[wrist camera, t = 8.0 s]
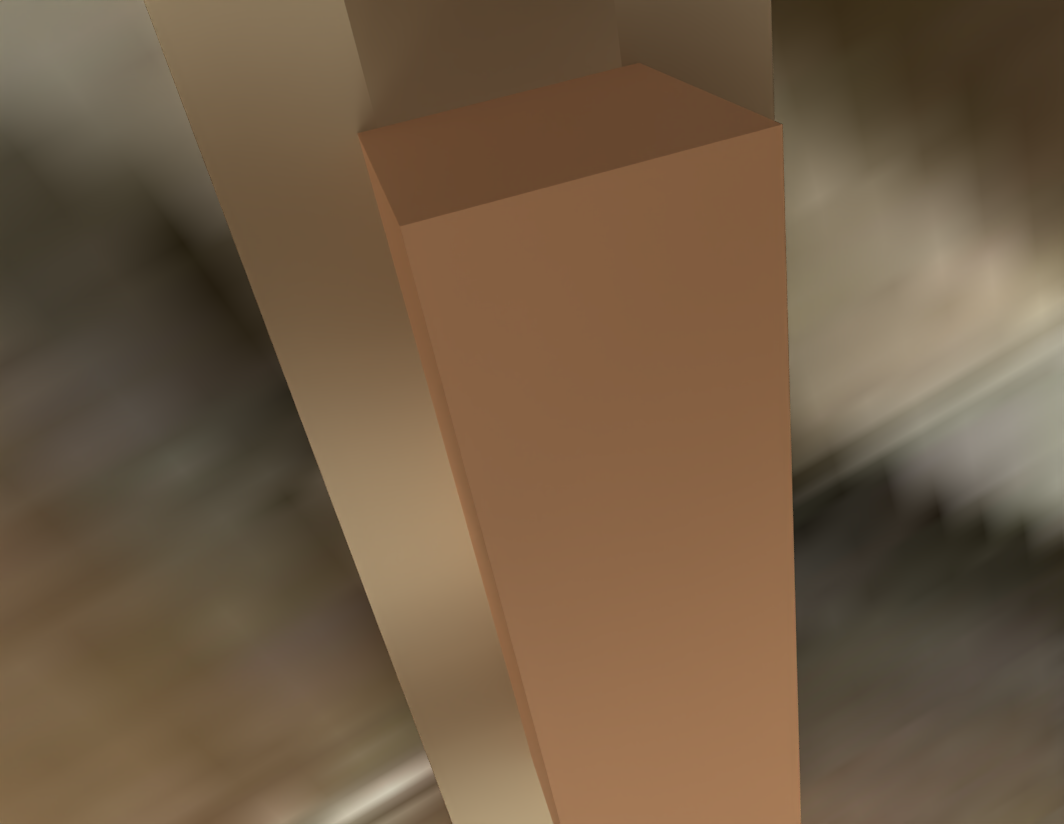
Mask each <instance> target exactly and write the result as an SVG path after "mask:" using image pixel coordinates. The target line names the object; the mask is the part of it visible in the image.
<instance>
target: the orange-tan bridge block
mask: <svg viewBox="0 0 1064 824" xmlns="http://www.w3.org/2000/svg"><path fill="white" fill-rule="evenodd" d="M357 134H358V138H359V141H360V145H361V148H362V152H363V155H364V159H365V163H366V166H367V170H368V173H369V177H370V180H371V184H372V188H373V191H374V195H375V198H376V202H377V206H378V209H379V213H380V216H381V220H382V223H383V227H384V231H385V234H386V238H387V241H388V245H389V248H390V252H391V256H392V259H393V263H394V266H395V270H396V274H397V277H398V281H399V284H400V288H401V291H402V295H403V299H404V302H405V306H406V309H407V313H408V316H409V320H410V324H411V327H412V331H413V334H414V338H415V342H416V345H417V349H418V352H419V356H420V359H421V363H422V367H423V370H424V374H425V377H426V381H427V384H428V388H429V392H430V395H431V399H432V402H433V406H434V410H435V413H436V417H437V420H438V424H439V427H440V431H441V435H442V438H443V442H444V445H445V449H446V452H447V456H448V460H449V463H450V467H451V470H452V474H453V477H454V481H455V485H456V488H457V492H458V495H459V499H460V503H461V506H462V510H463V513H464V517H465V520H466V524H467V528H468V531H469V535H470V538H471V542H472V545H473V549H474V553H475V556H476V560H477V563H478V567H479V571H480V574H481V578H482V581H483V585H484V588H485V592H486V596H487V599H488V603H489V606H490V610H491V613H492V617H493V621H494V624H495V628H496V631H497V635H498V639H499V642H500V646H501V649H502V653H503V656H504V660H505V664H506V667H507V671H508V674H509V678H510V681H511V685H512V689H513V692H514V696H515V699H516V703H517V707H518V710H519V714H520V717H521V721H522V724H523V728H524V732H525V735H526V739H527V742H528V746H529V749H530V753H531V757H532V760H533V763H534V766H535V769H536V772H537V775H538V779H539V782H540V785H541V788H542V791H543V794H544V797H545V800H546V803H547V806H548V809H549V812H550V815H551V818H552V821H553V824H801V803H800V765H799V727H798V689H797V651H796V613H795V575H794V537H793V499H792V462H791V424H790V386H789V348H788V310H787V272H786V234H785V196H784V158H783V124H780V123H778V122H776V121H773V120H771V119H769V118H766V117H764V116H762V115H759V114H757V113H755V112H753V111H750V110H748V109H746V108H743V107H741V106H739V105H736V104H734V103H732V102H729V101H727V100H725V99H722V98H720V97H718V96H715V95H713V94H711V93H708V92H706V91H704V90H701V89H699V88H697V87H694V86H692V85H690V84H687V83H685V82H683V81H680V80H678V79H676V78H674V77H671V76H669V75H667V74H664V73H662V72H660V71H657V70H655V69H653V68H650V67H648V66H646V65H643V64H641V63H636V64H632V65H628V66H624V67H620V68H616V69H612V70H608V71H604V72H600V73H596V74H592V75H588V76H584V77H580V78H576V79H572V80H568V81H564V82H560V83H556V84H552V85H548V86H544V87H540V88H536V89H532V90H528V91H524V92H520V93H516V94H512V95H508V96H504V97H500V98H496V99H492V100H488V101H484V102H480V103H476V104H472V105H468V106H464V107H460V108H456V109H452V110H448V111H444V112H440V113H436V114H432V115H428V116H424V117H420V118H416V119H412V120H408V121H404V122H400V123H396V124H392V125H388V126H384V127H380V128H376V129H373V130H369V131H365V132H361V133H357Z"/></svg>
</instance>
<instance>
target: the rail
mask: <svg viewBox="0 0 1064 824" xmlns="http://www.w3.org/2000/svg"><path fill="white" fill-rule="evenodd" d="M144 3H145V5H146V8H147V11H148V13H149V16H150V19H151V21H152V24H153V27H154V29H155V32H156V35H157V37H158V40H159V43H160V45H161V48H162V51H163V53H164V56H165V59H166V61H167V64H168V67H169V69H170V72H171V75H172V77H173V80H174V83H175V85H176V88H177V91H178V93H179V96H180V99H181V101H182V104H183V107H184V109H185V112H186V115H187V117H188V120H189V123H190V125H191V128H192V131H193V133H194V136H195V139H196V141H197V144H198V146H199V149H200V152H201V154H202V157H203V160H204V162H205V165H206V168H207V170H208V173H209V176H210V178H211V181H212V184H213V186H214V189H215V192H216V194H217V197H218V200H219V202H220V205H221V208H222V210H223V213H224V216H225V218H226V221H227V224H228V226H229V229H230V232H231V234H232V237H233V240H234V242H235V245H236V248H237V250H238V253H239V256H240V258H241V261H242V264H243V266H244V269H245V272H246V274H247V277H248V280H249V282H250V285H251V288H252V290H253V293H254V296H255V298H256V301H257V304H258V306H259V309H260V312H261V314H262V317H263V320H264V322H265V325H266V328H267V330H268V333H269V336H270V338H271V341H272V344H273V346H274V349H275V352H276V354H277V357H278V360H279V362H280V365H281V368H282V370H283V373H284V376H285V378H286V381H287V384H288V386H289V389H290V392H291V394H292V397H293V400H294V402H295V405H296V408H297V410H298V413H299V416H300V418H301V421H302V424H303V426H304V429H305V432H306V434H307V437H308V440H309V442H310V445H311V448H312V450H313V453H314V456H315V458H316V461H317V464H318V466H319V469H320V472H321V474H322V477H323V480H324V482H325V485H326V488H327V490H328V493H329V496H330V498H331V501H332V504H333V506H334V509H335V512H336V514H337V517H338V519H339V522H340V525H341V527H342V530H343V533H344V535H345V538H346V541H347V543H348V546H349V549H350V551H351V554H352V557H353V559H354V562H355V565H356V567H357V570H358V573H359V575H360V578H361V581H362V583H363V586H364V589H365V591H366V594H367V597H368V599H369V602H370V605H371V607H372V610H373V613H374V615H375V618H376V621H377V623H378V626H379V629H380V631H381V634H382V637H383V639H384V642H385V645H386V647H387V650H388V653H389V655H390V658H391V661H392V663H393V666H394V669H395V671H396V674H397V677H398V679H399V682H400V685H401V687H402V690H403V693H404V695H405V698H406V701H407V703H408V706H409V709H410V711H411V714H412V717H413V719H414V722H415V725H416V727H417V730H418V733H419V735H420V738H421V741H422V743H423V746H424V749H425V751H426V754H427V757H428V759H429V762H430V765H431V767H432V770H433V773H434V775H435V778H436V781H437V783H438V786H439V789H440V791H441V794H442V797H443V799H444V802H445V805H446V807H447V810H448V813H449V815H450V818H451V821H452V823H453V824H553V821H552V818H551V815H550V812H549V809H548V806H547V803H546V800H545V797H544V794H543V791H542V788H541V785H540V782H539V779H538V775H537V772H536V769H535V766H534V763H533V760H532V757H531V753H530V749H529V746H528V742H527V739H526V735H525V732H524V728H523V724H522V721H521V717H520V714H519V710H518V707H517V703H516V699H515V696H514V692H513V689H512V685H511V681H510V678H509V674H508V671H507V667H506V664H505V660H504V656H503V653H502V649H501V646H500V642H499V639H498V635H497V631H496V628H495V624H494V621H493V617H492V613H491V610H490V606H489V603H488V599H487V596H486V592H485V588H484V585H483V581H482V578H481V574H480V571H479V567H478V563H477V560H476V556H475V553H474V549H473V545H472V542H471V538H470V535H469V531H468V528H467V524H466V520H465V517H464V513H463V510H462V506H461V503H460V499H459V495H458V492H457V488H456V485H455V481H454V477H453V474H452V470H451V467H450V463H449V460H448V456H447V452H446V449H445V445H444V442H443V438H442V435H441V431H440V427H439V424H438V420H437V417H436V413H435V410H434V406H433V402H432V399H431V395H430V392H429V388H428V384H427V381H426V377H425V374H424V370H423V367H422V363H421V359H420V356H419V352H418V349H417V345H416V342H415V338H414V334H413V331H412V327H411V324H410V320H409V316H408V313H407V309H406V306H405V302H404V299H403V295H402V291H401V288H400V284H399V281H398V277H397V274H396V270H395V266H394V263H393V259H392V256H391V252H390V248H389V245H388V241H387V238H386V234H385V231H384V227H383V223H382V220H381V216H380V213H379V209H378V206H377V202H376V198H375V195H374V191H373V188H372V184H371V180H370V177H369V173H368V170H367V166H366V163H365V159H364V155H363V152H362V148H361V145H360V141H359V138H358V134H357V133H361V132H365V131H369V130H373V129H376V128H380V127H384V126H388V125H392V124H396V123H400V122H404V121H408V120H412V119H416V118H420V117H424V116H428V115H432V114H436V113H440V112H444V111H448V110H452V109H456V108H460V107H464V106H468V105H472V104H476V103H480V102H484V101H488V100H492V99H496V98H500V97H504V96H508V95H512V94H516V93H520V92H524V91H528V90H532V89H536V88H540V87H544V86H548V85H552V84H556V83H560V82H564V81H568V80H572V79H576V78H580V77H584V76H588V75H592V74H596V73H600V72H604V71H608V70H612V69H616V68H620V67H624V66H628V65H632V64H636V63H641V64H643V65H646V66H648V67H650V68H653V69H655V70H657V71H660V72H662V73H664V74H667V75H669V76H671V77H674V78H676V79H678V80H680V81H683V82H685V83H687V84H690V85H692V86H694V87H697V88H699V89H701V90H704V91H706V92H708V93H711V94H713V95H715V96H718V97H720V98H722V99H725V100H727V101H729V102H732V103H734V104H736V105H739V106H741V107H743V108H746V109H748V110H750V111H753V112H755V113H757V114H759V115H762V116H764V117H766V118H769V119H771V120H773V121H775V117H774V84H773V50H772V17H771V0H144Z"/></svg>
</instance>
